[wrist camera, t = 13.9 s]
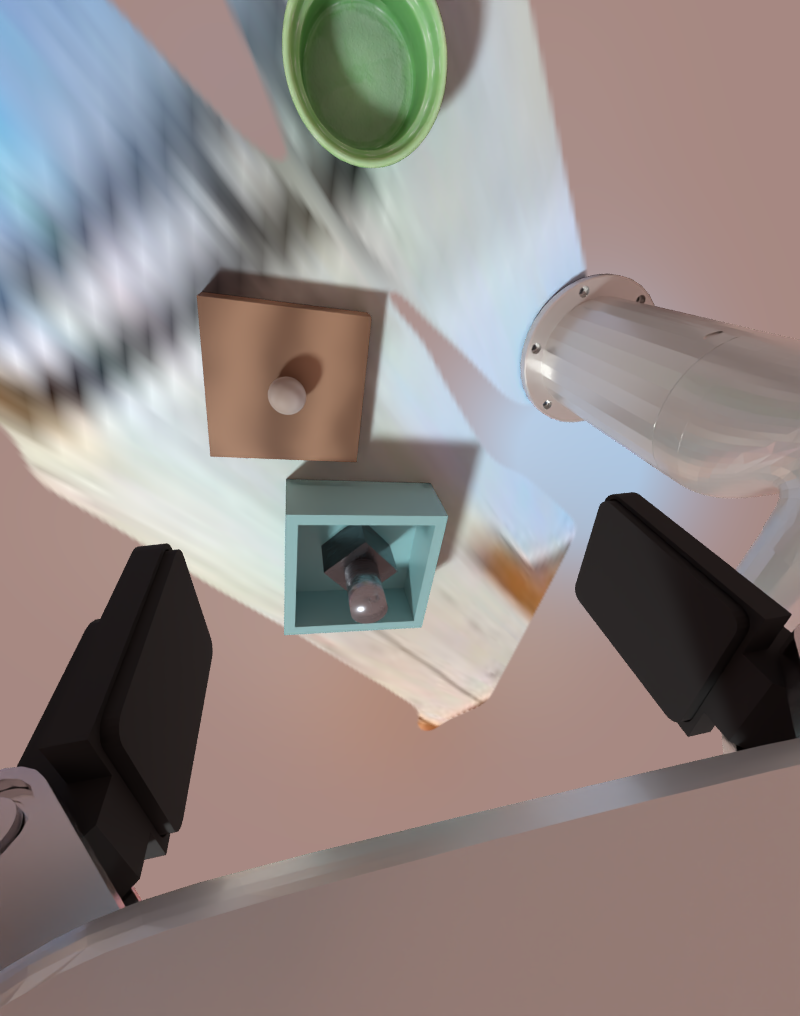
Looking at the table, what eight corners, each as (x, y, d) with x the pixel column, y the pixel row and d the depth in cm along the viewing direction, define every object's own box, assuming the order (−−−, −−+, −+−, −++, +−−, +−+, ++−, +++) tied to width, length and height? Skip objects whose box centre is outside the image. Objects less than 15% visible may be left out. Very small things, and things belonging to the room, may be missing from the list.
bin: (430, 483, 44) (448, 516, 39) (409, 588, 51) (421, 627, 46) (286, 479, 41) (285, 514, 36) (284, 592, 48) (284, 635, 43)
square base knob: (359, 516, 43) (374, 578, 36) (389, 545, 46) (409, 608, 38) (321, 545, 44) (327, 612, 37) (353, 571, 47) (364, 639, 39)
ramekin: (303, 182, 29) (305, 176, 26) (264, -19, 24) (259, -60, 21) (432, 165, 30) (452, 157, 27) (421, -32, 25) (443, -74, 22)
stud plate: (367, 312, 34) (377, 324, 30) (353, 452, 41) (360, 477, 37) (201, 291, 31) (189, 301, 27) (214, 446, 38) (205, 472, 34)
